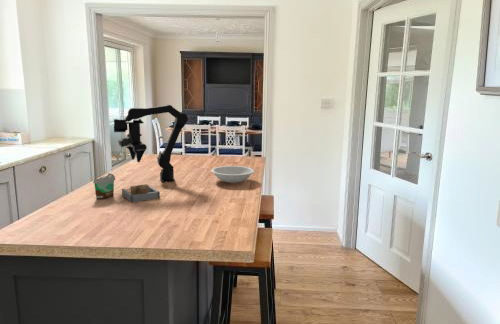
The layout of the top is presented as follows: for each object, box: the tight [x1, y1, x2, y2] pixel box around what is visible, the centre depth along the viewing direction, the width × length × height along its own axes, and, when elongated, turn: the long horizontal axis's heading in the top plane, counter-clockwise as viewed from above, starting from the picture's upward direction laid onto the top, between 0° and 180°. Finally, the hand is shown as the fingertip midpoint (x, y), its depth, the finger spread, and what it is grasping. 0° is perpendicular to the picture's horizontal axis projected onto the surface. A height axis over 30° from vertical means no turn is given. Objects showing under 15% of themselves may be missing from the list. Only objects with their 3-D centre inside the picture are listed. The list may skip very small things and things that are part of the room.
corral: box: [121, 185, 161, 203], centre depth 173 cm, size 13×14×3 cm
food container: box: [93, 172, 116, 200], centre depth 171 cm, size 12×6×10 cm, turn 168°
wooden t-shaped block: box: [129, 183, 150, 195], centre depth 172 cm, size 8×8×5 cm
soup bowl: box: [211, 165, 255, 184], centre depth 205 cm, size 24×24×7 cm
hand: (135, 160), depth 197 cm, fingers open, 9 cm apart
